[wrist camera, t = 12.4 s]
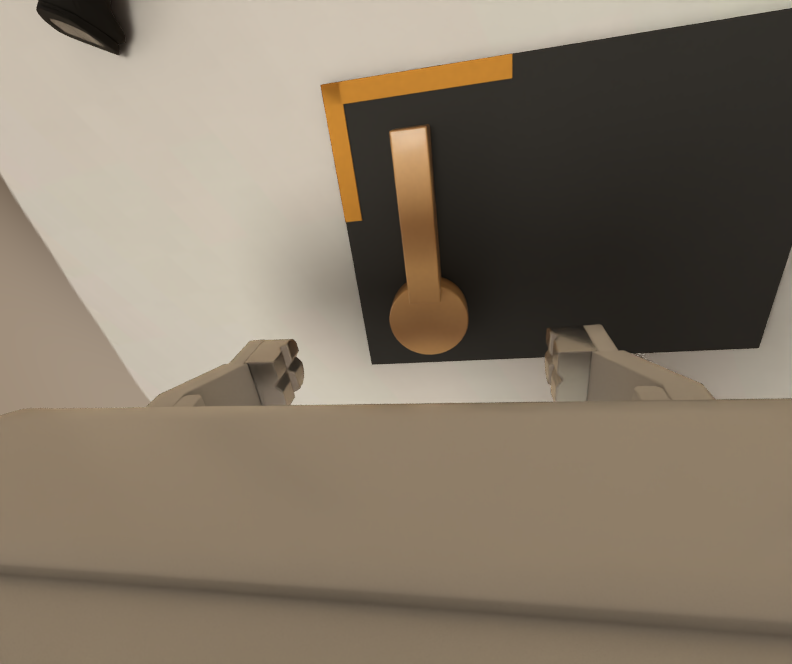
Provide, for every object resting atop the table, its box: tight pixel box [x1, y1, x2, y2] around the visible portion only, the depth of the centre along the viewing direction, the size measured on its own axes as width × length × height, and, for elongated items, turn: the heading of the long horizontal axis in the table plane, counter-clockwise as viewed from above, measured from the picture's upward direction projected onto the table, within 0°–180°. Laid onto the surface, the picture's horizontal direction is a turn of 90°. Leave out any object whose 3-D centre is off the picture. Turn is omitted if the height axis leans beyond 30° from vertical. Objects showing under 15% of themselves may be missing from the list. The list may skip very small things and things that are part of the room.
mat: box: [321, 8, 792, 364], centre depth 23 cm, size 24×17×1 cm
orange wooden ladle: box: [389, 124, 468, 355], centre depth 23 cm, size 13×5×3 cm, turn 6°
